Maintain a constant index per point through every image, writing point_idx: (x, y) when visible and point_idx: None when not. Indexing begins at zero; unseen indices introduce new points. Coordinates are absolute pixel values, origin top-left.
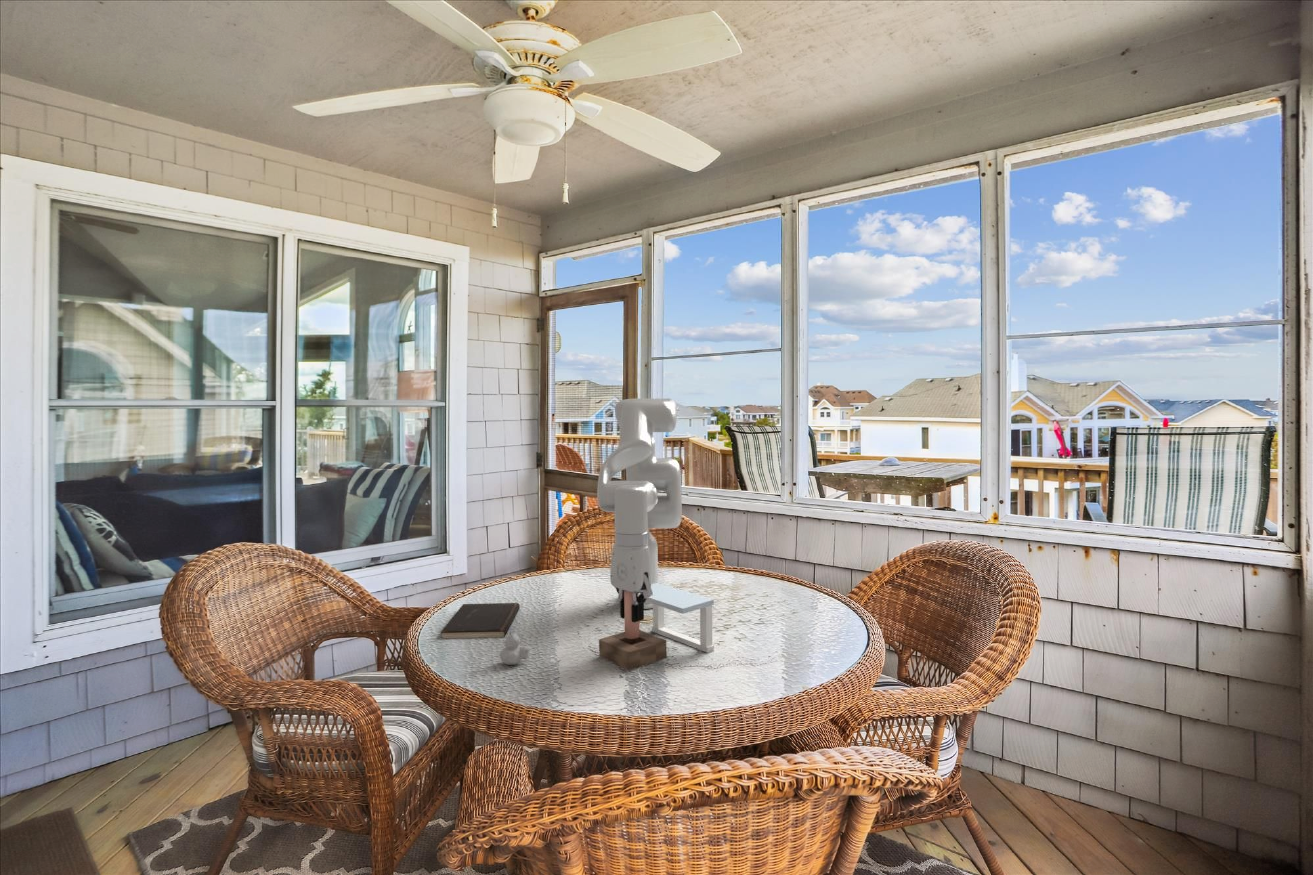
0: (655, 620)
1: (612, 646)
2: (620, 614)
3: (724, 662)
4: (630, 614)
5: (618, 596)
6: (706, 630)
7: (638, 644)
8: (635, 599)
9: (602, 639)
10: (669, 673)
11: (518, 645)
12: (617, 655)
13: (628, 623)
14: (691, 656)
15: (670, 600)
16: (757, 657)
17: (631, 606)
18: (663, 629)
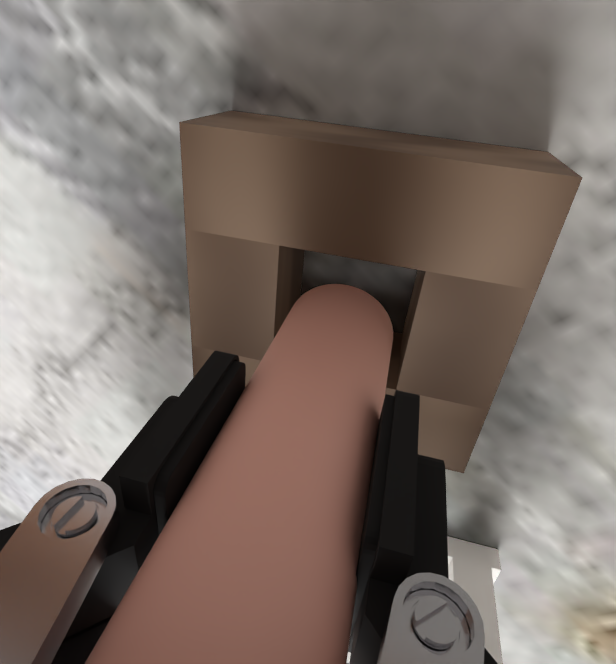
0: (474, 598)
1: (383, 147)
2: (416, 409)
3: (65, 421)
4: (245, 405)
5: (480, 639)
6: None
7: (252, 281)
8: (16, 553)
9: (549, 194)
10: (84, 224)
11: None
12: (331, 133)
13: (295, 345)
14: None
15: None
16: (47, 490)
17: (171, 468)
18: None
